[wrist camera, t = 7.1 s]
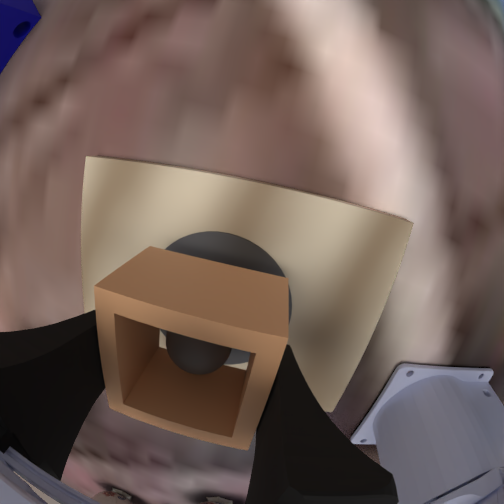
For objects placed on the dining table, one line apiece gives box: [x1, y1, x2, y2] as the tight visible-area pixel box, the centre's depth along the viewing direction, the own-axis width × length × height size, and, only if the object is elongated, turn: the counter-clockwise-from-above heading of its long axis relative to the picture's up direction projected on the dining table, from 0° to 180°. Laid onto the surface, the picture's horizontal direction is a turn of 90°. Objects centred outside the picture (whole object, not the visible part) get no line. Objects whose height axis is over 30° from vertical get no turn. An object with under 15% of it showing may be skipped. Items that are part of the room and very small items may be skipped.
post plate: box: [81, 156, 414, 412], centre depth 12 cm, size 16×12×6 cm
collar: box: [94, 246, 289, 450], centre depth 10 cm, size 6×6×4 cm
